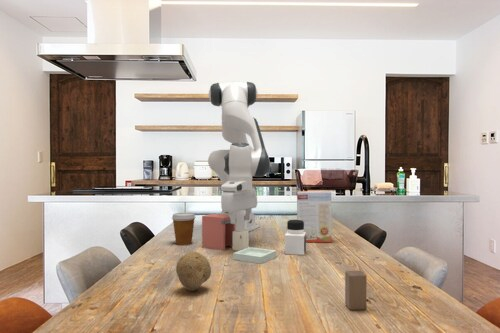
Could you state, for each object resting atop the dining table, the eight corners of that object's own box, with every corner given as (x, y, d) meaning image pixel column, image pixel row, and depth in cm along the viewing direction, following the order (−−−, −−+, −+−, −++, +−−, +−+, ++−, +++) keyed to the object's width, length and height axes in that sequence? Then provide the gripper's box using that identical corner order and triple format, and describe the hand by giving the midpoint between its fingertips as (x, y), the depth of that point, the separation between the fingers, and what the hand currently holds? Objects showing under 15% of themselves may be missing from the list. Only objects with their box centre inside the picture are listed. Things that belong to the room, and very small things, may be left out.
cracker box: (330, 240, 173) (330, 190, 173) (331, 243, 167) (331, 191, 167) (296, 239, 175) (296, 190, 174) (297, 242, 169) (297, 191, 168)
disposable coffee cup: (183, 246, 160) (183, 216, 160) (167, 243, 166) (166, 214, 166) (200, 243, 168) (200, 213, 167) (184, 240, 173) (184, 212, 173)
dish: (249, 253, 149) (249, 247, 149) (276, 256, 143) (276, 250, 143) (233, 259, 140) (233, 253, 140) (261, 263, 134) (261, 257, 134)
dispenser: (215, 243, 167) (215, 213, 166) (235, 246, 161) (235, 215, 161) (201, 247, 159) (201, 216, 159) (223, 250, 154) (223, 217, 154)
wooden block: (361, 304, 96) (361, 270, 96) (366, 310, 92) (367, 275, 92) (344, 304, 96) (344, 270, 96) (349, 310, 92) (349, 275, 92)
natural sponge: (195, 282, 113) (195, 246, 113) (218, 289, 108) (218, 251, 108) (169, 290, 106) (169, 252, 106) (192, 298, 101) (192, 257, 101)
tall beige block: (237, 248, 158) (237, 230, 158) (248, 249, 155) (248, 231, 155) (232, 249, 155) (232, 231, 155) (243, 251, 152) (243, 232, 152)
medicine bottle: (304, 255, 146) (304, 221, 146) (284, 254, 147) (284, 221, 147) (305, 250, 153) (306, 218, 153) (286, 250, 154) (286, 218, 154)
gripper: (247, 183, 165) (247, 218, 165) (218, 186, 148) (218, 224, 148) (261, 184, 162) (261, 219, 162) (232, 187, 144) (232, 226, 145)
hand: (240, 221), depth 155 cm, fingers open, 8 cm apart
